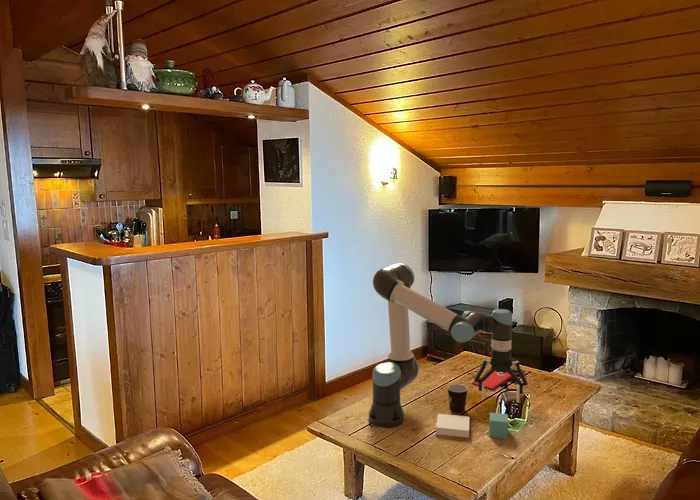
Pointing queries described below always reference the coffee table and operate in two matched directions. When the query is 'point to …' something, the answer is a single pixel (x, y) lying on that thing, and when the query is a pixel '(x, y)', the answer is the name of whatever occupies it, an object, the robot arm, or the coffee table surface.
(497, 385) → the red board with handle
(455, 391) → the coffee mug
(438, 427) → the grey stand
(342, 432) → the coffee table surface
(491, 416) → the teal cube
